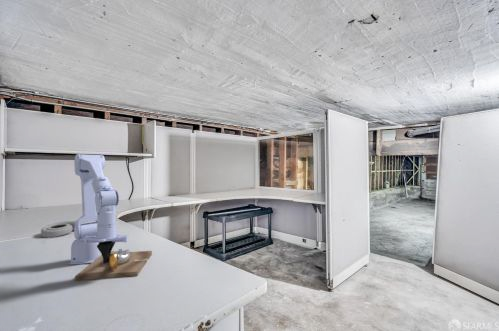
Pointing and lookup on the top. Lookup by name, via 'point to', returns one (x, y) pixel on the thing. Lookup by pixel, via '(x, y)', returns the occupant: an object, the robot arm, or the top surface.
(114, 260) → the crank handle wheel
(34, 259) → the top surface
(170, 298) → the top surface
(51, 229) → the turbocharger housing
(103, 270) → the plain tan brown board
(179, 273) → the top surface
